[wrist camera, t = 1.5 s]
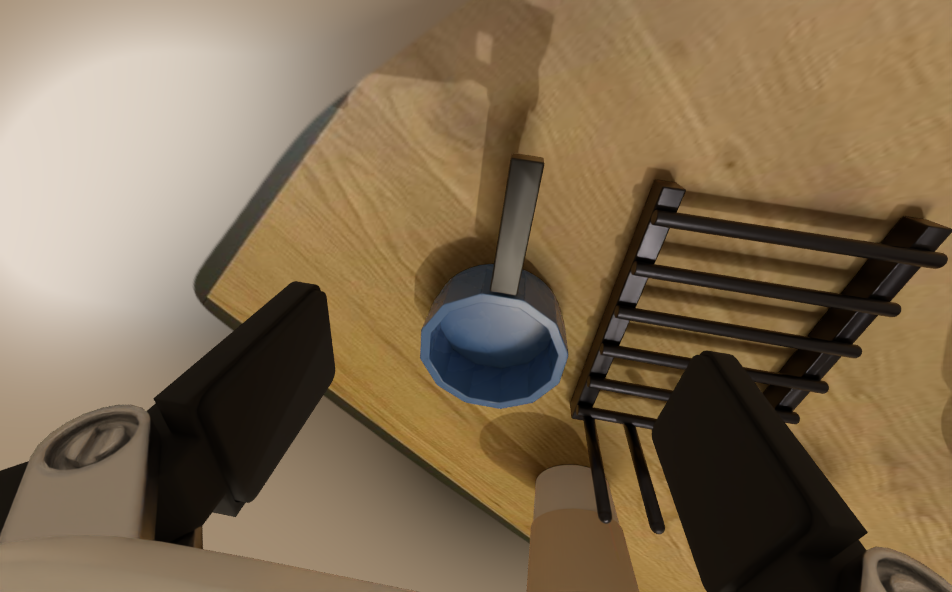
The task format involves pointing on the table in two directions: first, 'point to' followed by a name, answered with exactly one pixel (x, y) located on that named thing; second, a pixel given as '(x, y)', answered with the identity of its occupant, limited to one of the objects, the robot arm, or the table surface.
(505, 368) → the saucepan
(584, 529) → the coffee cup
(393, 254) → the table surface
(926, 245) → the dish rack
